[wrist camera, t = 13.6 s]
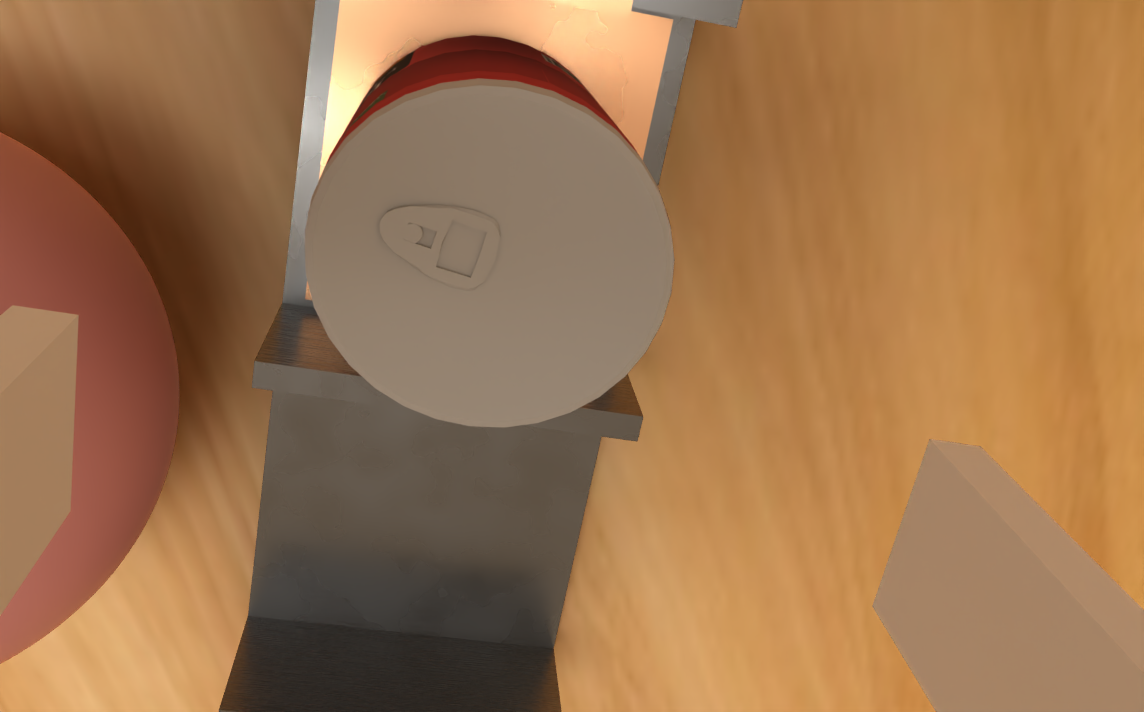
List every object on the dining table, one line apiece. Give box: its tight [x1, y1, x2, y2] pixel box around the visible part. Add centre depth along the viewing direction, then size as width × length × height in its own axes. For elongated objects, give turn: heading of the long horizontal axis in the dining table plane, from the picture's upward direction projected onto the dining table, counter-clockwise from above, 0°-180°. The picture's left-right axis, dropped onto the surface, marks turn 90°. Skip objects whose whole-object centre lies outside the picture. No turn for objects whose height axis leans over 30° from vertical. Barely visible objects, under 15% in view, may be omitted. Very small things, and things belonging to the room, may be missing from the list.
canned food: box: [305, 35, 674, 428], centre depth 28 cm, size 8×8×11 cm
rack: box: [219, 0, 743, 712], centre depth 33 cm, size 25×11×8 cm, turn 169°
